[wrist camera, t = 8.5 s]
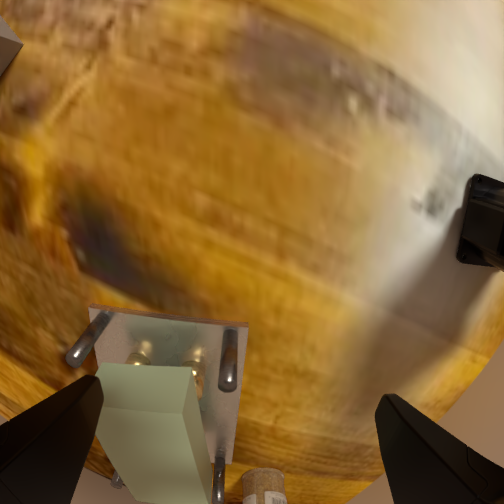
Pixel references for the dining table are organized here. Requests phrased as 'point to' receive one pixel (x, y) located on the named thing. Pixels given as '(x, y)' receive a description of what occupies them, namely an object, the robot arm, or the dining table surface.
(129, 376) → the board
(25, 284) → the dining table surface
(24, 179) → the dining table surface
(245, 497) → the sprinkles bottle
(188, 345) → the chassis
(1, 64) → the icon cube
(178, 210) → the dining table surface
